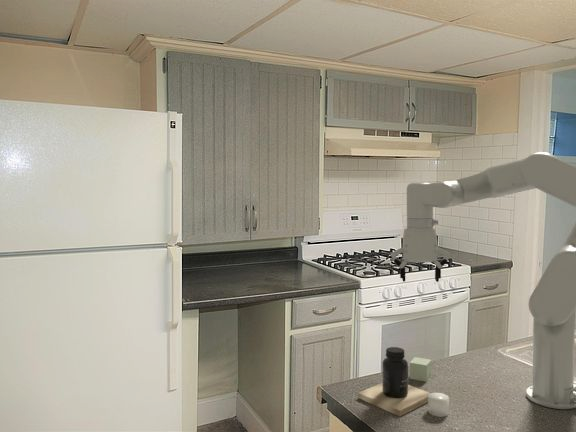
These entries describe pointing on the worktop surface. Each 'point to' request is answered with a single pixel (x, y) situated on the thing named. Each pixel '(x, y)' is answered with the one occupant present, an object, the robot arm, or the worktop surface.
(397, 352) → the supplement bottle
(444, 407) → the white rounded lump
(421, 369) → the sage block
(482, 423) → the worktop surface
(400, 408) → the birch board
